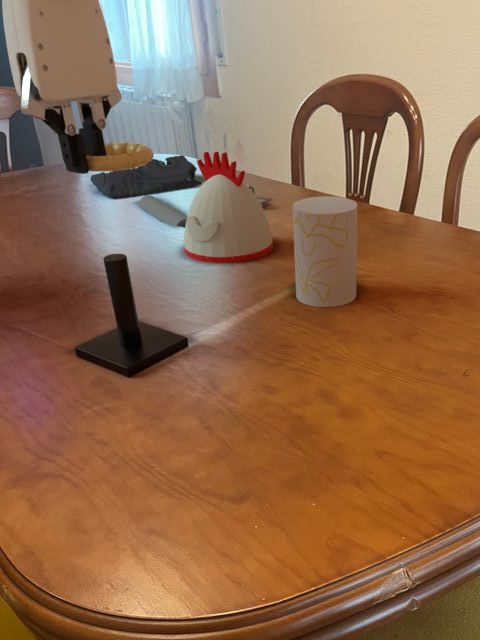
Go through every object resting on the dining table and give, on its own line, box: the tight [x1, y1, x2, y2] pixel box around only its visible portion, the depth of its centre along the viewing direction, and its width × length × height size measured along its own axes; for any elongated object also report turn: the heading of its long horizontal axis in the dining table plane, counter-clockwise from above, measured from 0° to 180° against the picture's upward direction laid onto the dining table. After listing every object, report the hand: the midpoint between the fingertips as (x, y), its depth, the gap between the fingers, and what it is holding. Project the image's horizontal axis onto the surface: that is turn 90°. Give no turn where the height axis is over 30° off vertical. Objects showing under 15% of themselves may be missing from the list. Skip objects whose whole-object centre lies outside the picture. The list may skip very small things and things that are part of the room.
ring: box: [86, 142, 154, 172], centre depth 76 cm, size 9×9×2 cm
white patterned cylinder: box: [292, 195, 358, 308], centre depth 86 cm, size 8×8×12 cm
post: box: [73, 253, 189, 378], centre depth 73 cm, size 9×9×11 cm
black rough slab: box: [90, 154, 202, 199], centre depth 141 cm, size 15×22×5 cm
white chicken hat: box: [183, 151, 274, 264], centre depth 100 cm, size 14×14×15 cm
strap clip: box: [246, 185, 268, 207], centre depth 124 cm, size 8×3×4 cm, turn 149°
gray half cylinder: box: [138, 194, 187, 228], centre depth 122 cm, size 4×20×2 cm, turn 32°
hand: (87, 168), depth 74 cm, fingers closed on ring, 2 cm apart
